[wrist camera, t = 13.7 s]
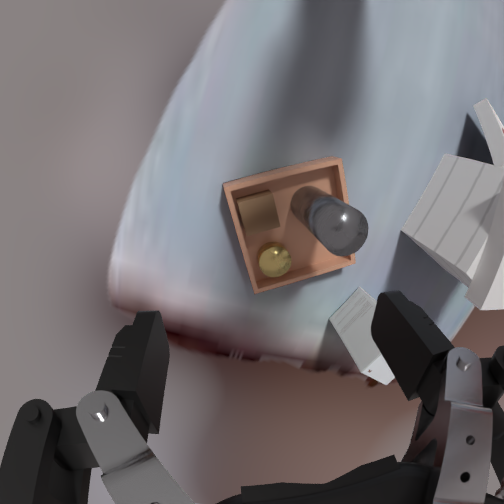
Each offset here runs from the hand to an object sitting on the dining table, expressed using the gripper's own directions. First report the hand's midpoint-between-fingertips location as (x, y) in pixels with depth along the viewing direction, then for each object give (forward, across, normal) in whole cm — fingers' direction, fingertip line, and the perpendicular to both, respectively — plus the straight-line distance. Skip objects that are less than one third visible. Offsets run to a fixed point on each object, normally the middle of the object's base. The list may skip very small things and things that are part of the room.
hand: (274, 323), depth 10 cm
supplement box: (+26, -18, +22) cm, 39 cm away
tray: (+26, -7, +6) cm, 28 cm away
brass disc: (+25, -4, +10) cm, 27 cm away
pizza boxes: (+28, -37, +1) cm, 46 cm away
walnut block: (+25, -2, +4) cm, 26 cm away
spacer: (+26, -8, +3) cm, 27 cm away
